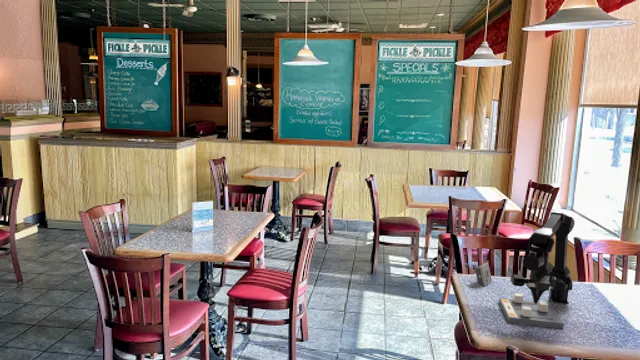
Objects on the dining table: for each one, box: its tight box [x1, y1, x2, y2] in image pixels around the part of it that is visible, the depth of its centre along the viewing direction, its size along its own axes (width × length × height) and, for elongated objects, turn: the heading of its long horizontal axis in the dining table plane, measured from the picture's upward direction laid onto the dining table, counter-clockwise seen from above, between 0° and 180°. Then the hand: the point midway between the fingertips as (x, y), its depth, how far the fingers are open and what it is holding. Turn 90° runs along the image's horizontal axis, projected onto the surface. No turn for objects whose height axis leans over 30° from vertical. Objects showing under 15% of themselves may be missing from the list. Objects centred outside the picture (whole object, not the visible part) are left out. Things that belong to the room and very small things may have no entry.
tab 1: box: [521, 306, 532, 317], centre depth 183 cm, size 3×3×3 cm
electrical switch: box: [474, 262, 493, 287], centre depth 225 cm, size 9×5×9 cm, turn 141°
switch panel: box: [498, 297, 565, 329], centre depth 189 cm, size 20×20×2 cm
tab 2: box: [538, 301, 549, 312], centre depth 188 cm, size 3×3×3 cm
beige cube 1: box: [513, 292, 524, 303], centre depth 196 cm, size 3×3×3 cm
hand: (535, 303), depth 182 cm, fingers closed
